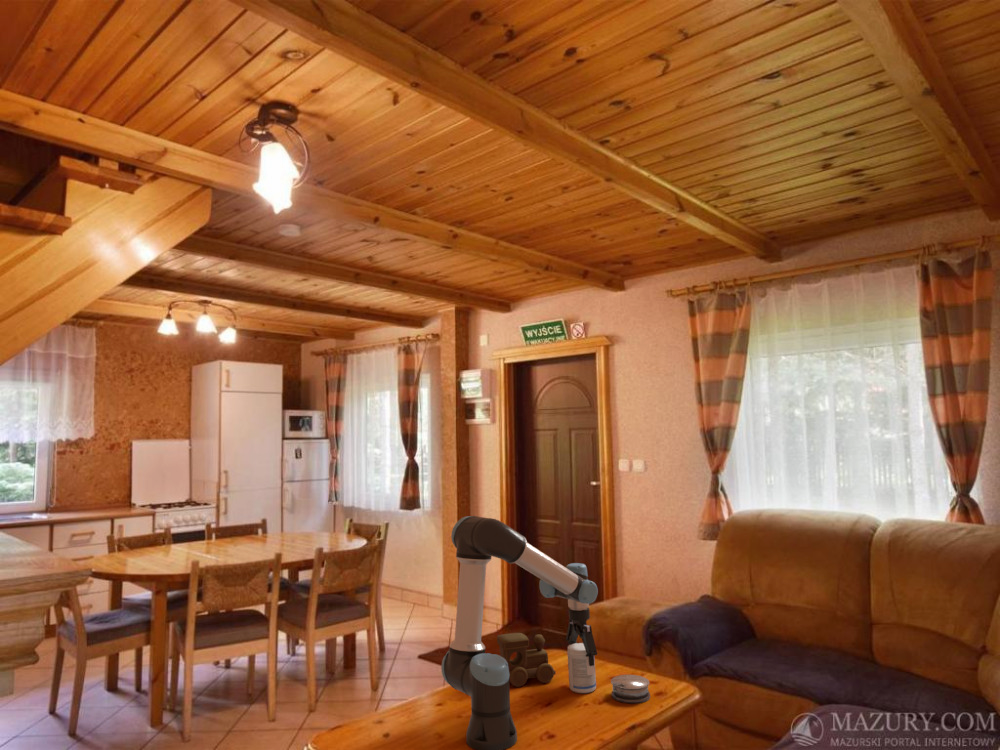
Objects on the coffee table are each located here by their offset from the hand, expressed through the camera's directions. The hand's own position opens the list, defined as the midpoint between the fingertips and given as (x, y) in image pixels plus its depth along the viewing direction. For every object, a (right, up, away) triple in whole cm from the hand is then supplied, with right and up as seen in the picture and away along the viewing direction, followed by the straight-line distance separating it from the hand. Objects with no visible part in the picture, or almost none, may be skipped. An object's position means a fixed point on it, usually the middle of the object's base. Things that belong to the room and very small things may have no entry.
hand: (582, 668), depth 236 cm
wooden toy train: (-19, -9, +9) cm, 23 cm away
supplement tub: (0, -7, -1) cm, 7 cm away
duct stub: (+16, -5, -9) cm, 19 cm away
